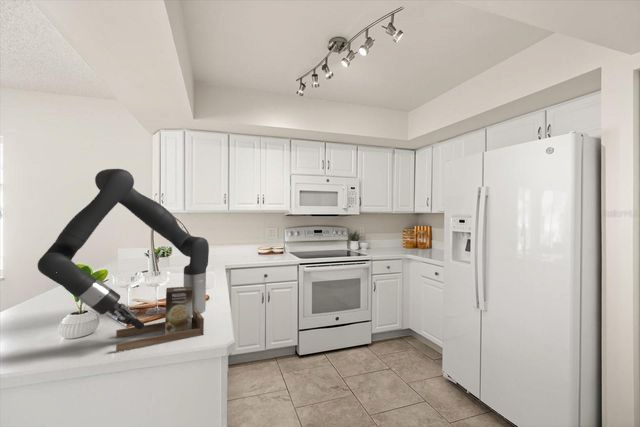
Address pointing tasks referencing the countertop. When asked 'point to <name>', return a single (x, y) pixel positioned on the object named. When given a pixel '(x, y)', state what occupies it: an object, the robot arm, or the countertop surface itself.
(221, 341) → the countertop surface
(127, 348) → the walnut chute
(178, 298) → the coffee box
